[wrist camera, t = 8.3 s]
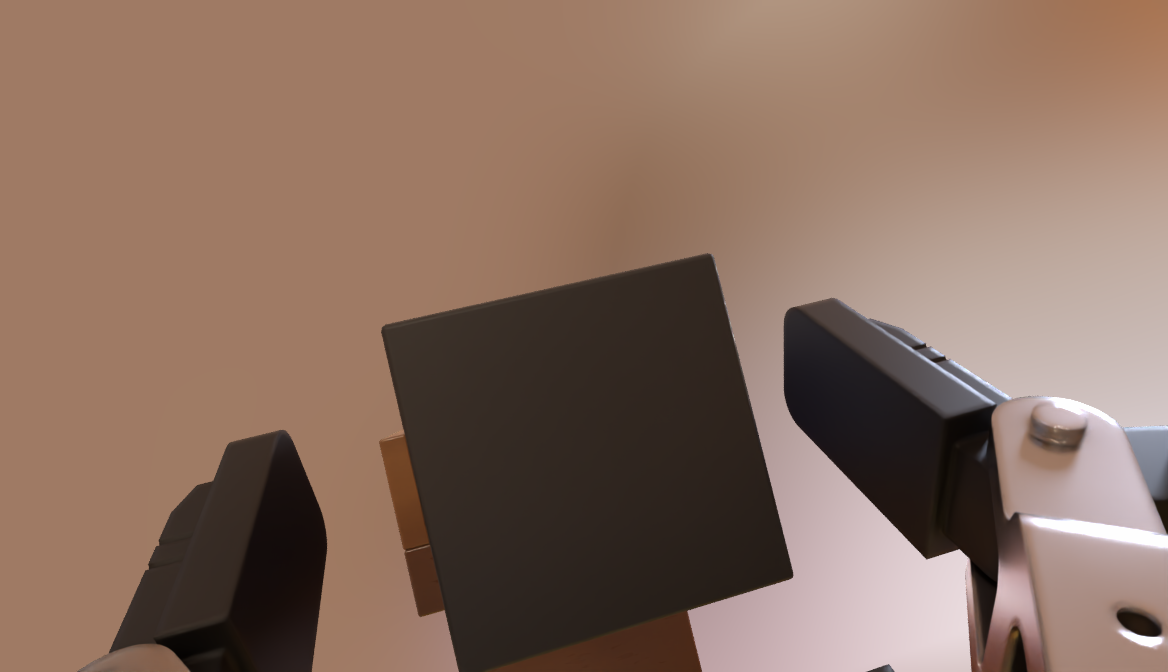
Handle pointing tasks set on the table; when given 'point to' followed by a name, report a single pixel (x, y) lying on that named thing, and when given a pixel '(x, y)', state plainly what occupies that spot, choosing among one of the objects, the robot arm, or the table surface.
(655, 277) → the dark piece
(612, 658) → the stand
